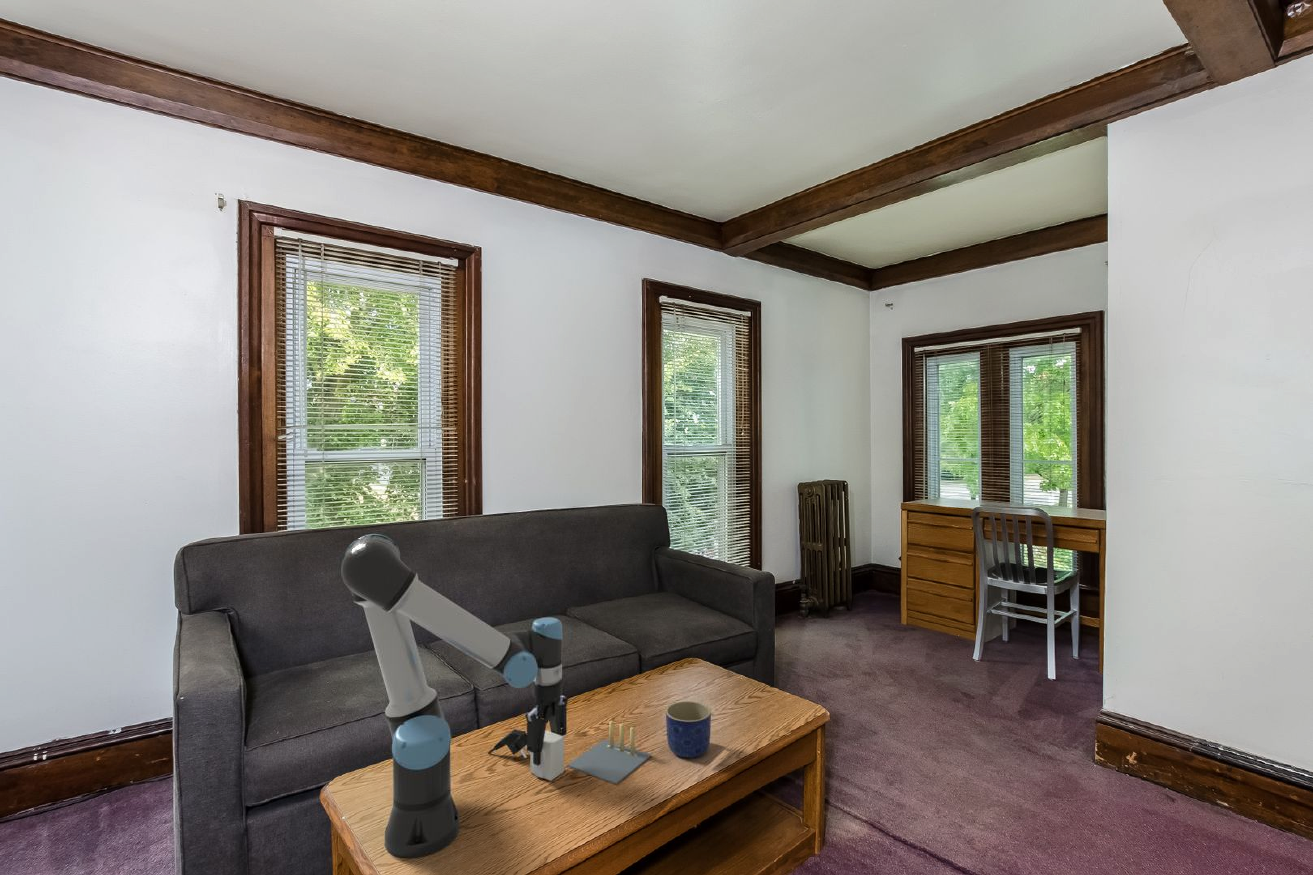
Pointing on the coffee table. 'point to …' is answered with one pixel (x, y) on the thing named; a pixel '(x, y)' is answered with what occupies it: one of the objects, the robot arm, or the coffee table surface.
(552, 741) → the block
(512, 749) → the power plug
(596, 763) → the board
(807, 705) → the coffee table surface
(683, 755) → the planter
